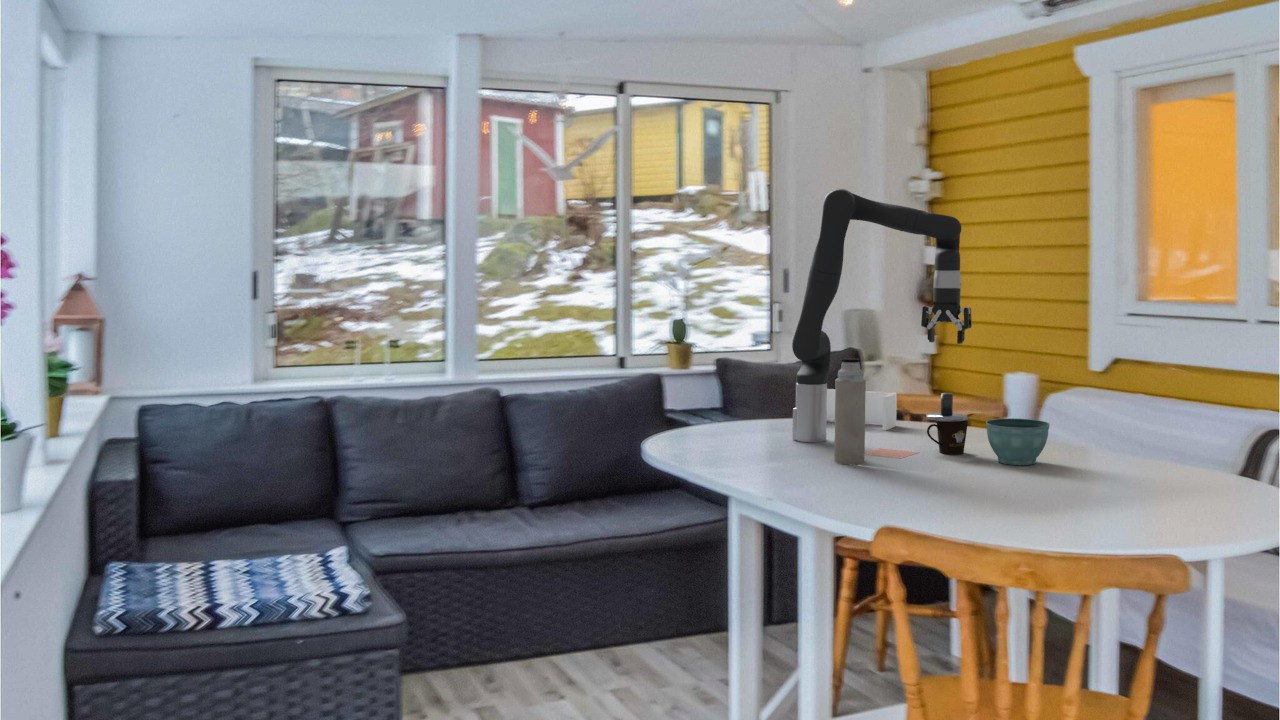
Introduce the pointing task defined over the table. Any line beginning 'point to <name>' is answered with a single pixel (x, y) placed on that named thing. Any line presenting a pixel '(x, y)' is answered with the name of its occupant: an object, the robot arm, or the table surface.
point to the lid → (946, 411)
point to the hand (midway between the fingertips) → (945, 342)
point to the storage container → (871, 408)
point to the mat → (890, 453)
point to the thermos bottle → (850, 413)
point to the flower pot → (1017, 439)
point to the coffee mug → (950, 436)
